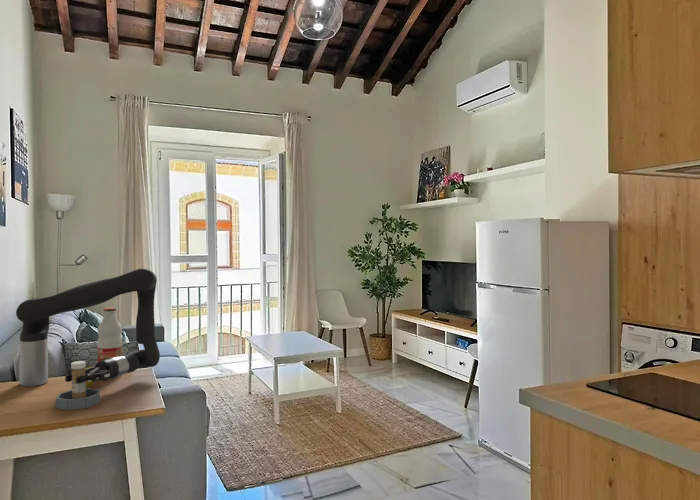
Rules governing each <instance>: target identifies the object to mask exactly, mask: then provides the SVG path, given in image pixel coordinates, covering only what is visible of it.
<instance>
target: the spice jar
mask: <svg viewBox="0 0 700 500" xmlns="http://www.w3.org/2000/svg"><path fill="white" fill-rule="evenodd" d="M86 364H87V361H84V360H77V361H73V362H71V364H70V369H71V374H72V381H71V390H72V399H80V398H86V388H87V386H86V382H83V383H79V384H77V383H76V378H77V377H79V376H83V375H86V373H85V368H87V365H86Z"/></svg>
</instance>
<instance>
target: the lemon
mask: <svg viewBox="0 0 700 500" xmlns="http://www.w3.org/2000/svg"><path fill="white" fill-rule="evenodd" d="M90 367H91V366H86V368H85V369H87V368H90ZM96 382H97V381H95V382H92V381H90V382H88V381H86V387H87V388H92V387H91V386H93V385H94V384H95V383H96Z"/></svg>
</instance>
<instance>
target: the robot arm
mask: <svg viewBox="0 0 700 500" xmlns="http://www.w3.org/2000/svg"><path fill="white" fill-rule="evenodd" d="M157 280H158V278H157V276H156V274H155V273H154V272H153V271H152V270H151V269H148V268H145V267H142V268H137V269H134V270H131V271H129V272H126V273H123V274H121V275H118V276H114V277H111V278H106V279H100V280H96V281H91V282H88V283H85V284H81V285H78V286H74V287H73V288H70V289H67V290H64V291H61V292H59V293H56V294H54V295H50V296H46V297H41V298H40V297H33V298H30V299H27V300H24V301H22V302H21V303H20V304H19V305H18V307H17V308H16V311H15V314H16V315H15V316H16V318H17V319H18V320H19V321H20V322H22V329H21V332H20V333H19V356H20V357H19V360H18V377H19V378H18V384H20V386H22V387H35V386H40V385H44V384H47V383H48V382H49V353H48V352H49V349H48V347H49V346H48V338H49V337H48V335H49V334H48V333H49V331H50V317H53V316H56V315H59V314H64V313H69V312H75V311H78V310H83V309H86V308H87V309H88V308H91V307H93V306H94V307H95V306H97V305H101V304H104V303H106V302H109V301H110V300H112V299H115V298H116V297H118V296H120V295H125V294H128V293H133V292H136V295H137V313H136V321H135V335H136V337H135V339H136V342H137V343H138V344H139V345H140V344H142V345H143V349H140V350H139V349H138V350H135V351H133V352H130V353H128V354H122V356H118V357H113V358H109V359H105V360H101V361H99V362H98V361H97V363H96V364H95V366H90V368H87V367H86V368H87V369H85V373H86V375H83V376H79V377H77V378H76V383H77V384H79V383H83V382H86V381H88V382H90V381H92V382H95V381H96V382H99V381H101V382H105V381H110V380H112V379H116V378H119V377H122V376H123V375H124V376H125V375H127V374H129V373H130V374H131V373H133V372H135V371H136V370H138V369H142V368H152V367H155V366H157V365H158V364H159V362H160V358H161V355H160V350H159V346H158V343H157V339H156V334H155V333H156V331H155V330H156V328H155V325H156V323H155V295H156V288H157ZM64 380H65V382H66V383H68V382H72V373H70V374H66V375H65V378H64ZM96 382H95V383H96Z"/></svg>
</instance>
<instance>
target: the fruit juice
mask: <svg viewBox="0 0 700 500" xmlns="http://www.w3.org/2000/svg"><path fill="white" fill-rule="evenodd" d="M102 311H103V318H102V320H101V322H100V323H99V325H98V327H97V334H98V338H97V345H96V346H97V363H98V362H99V361H101V360H105V359H109V358H113V357H118V356H123V339H122V336H121V334H122V332H123V331H122V330H123V327H122V325H121V323H120V322H119V321H118V318H117V313H116V312H117V307H113V306H111V307H103V309H102Z"/></svg>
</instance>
